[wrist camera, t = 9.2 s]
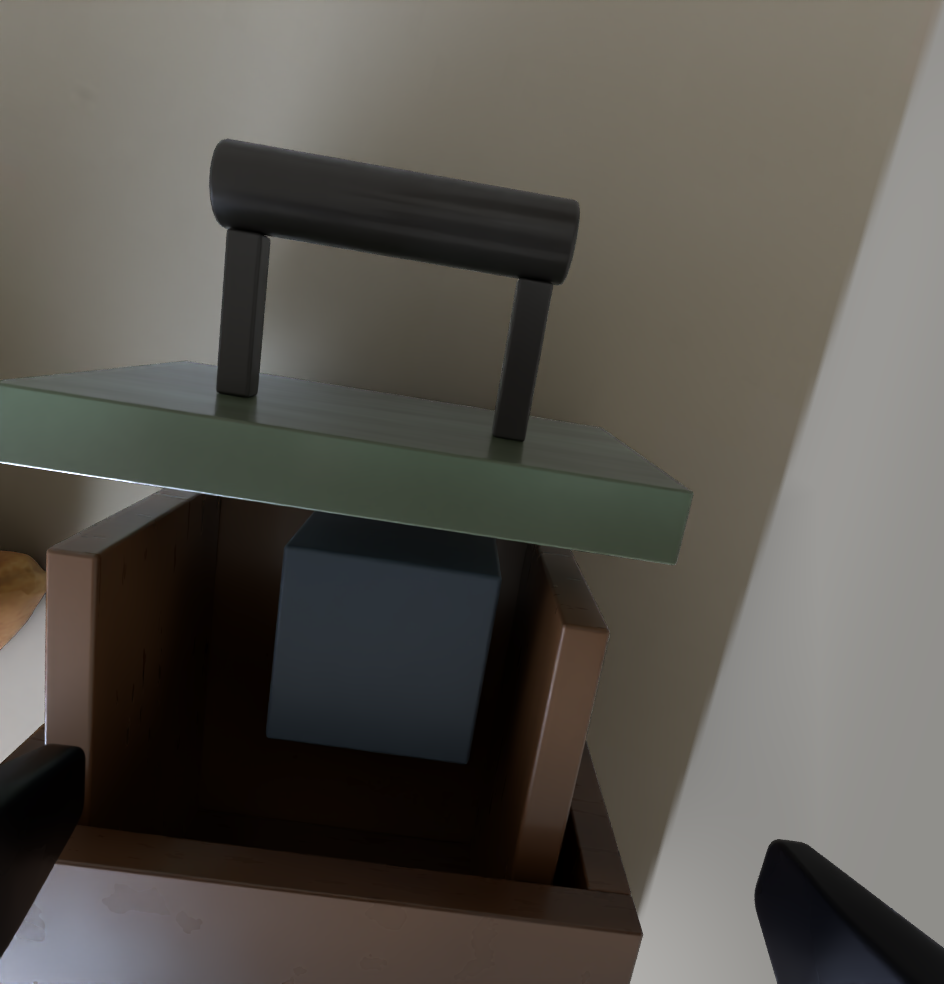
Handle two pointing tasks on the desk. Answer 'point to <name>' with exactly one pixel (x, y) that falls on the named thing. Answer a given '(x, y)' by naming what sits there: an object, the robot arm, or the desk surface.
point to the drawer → (339, 490)
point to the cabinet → (323, 914)
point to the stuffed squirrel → (18, 592)
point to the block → (382, 637)
